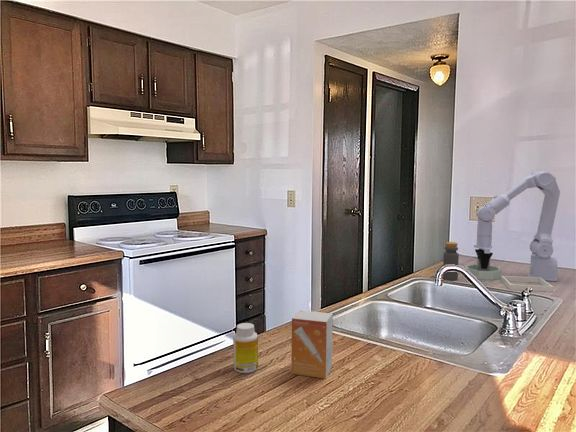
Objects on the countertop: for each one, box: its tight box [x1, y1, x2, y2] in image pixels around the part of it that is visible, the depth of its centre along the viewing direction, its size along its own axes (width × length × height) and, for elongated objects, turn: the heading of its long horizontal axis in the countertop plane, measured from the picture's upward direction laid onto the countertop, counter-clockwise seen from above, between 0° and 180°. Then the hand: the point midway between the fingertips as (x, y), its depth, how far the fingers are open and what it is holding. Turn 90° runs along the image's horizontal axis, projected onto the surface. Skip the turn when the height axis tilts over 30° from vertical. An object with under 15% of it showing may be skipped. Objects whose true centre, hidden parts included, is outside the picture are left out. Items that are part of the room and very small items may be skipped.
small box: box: [290, 309, 334, 380], centre depth 105 cm, size 8×6×13 cm
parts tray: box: [500, 275, 554, 293], centre depth 180 cm, size 15×15×2 cm
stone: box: [475, 257, 491, 271], centre depth 195 cm, size 4×4×5 cm
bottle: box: [442, 241, 459, 282], centre depth 190 cm, size 6×6×15 cm
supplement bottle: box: [232, 322, 259, 374], centre depth 106 cm, size 6×6×10 cm
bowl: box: [464, 263, 502, 281], centre depth 196 cm, size 13×13×4 cm
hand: (482, 267), depth 196 cm, fingers closed on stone, 4 cm apart
